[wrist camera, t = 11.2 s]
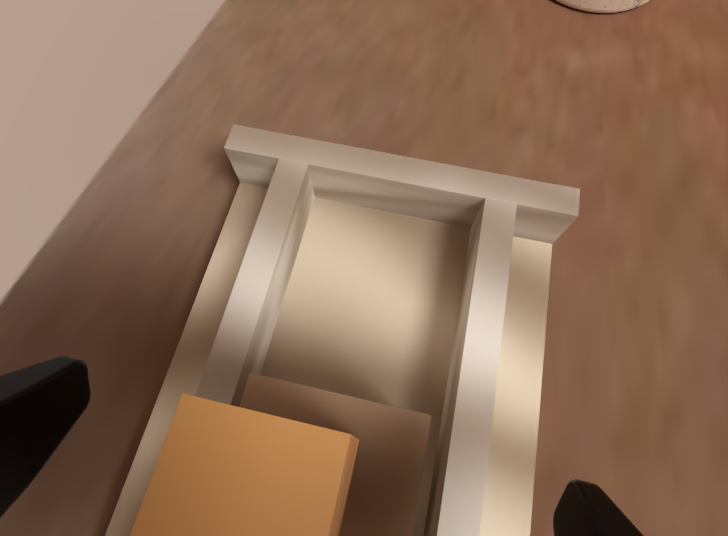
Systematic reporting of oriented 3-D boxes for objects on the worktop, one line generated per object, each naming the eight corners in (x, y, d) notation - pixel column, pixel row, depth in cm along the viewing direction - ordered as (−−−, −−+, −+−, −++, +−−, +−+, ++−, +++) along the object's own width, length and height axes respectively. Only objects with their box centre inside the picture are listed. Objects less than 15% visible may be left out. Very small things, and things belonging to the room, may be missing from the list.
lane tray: (494, 774, 14) (541, 896, 10) (81, 651, 15) (-13, 719, 11) (542, 219, 21) (580, 171, 17) (260, 165, 22) (239, 109, 18)
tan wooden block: (384, 581, 14) (486, 1283, 2) (239, 542, 15) (-308, 973, 3) (412, 423, 16) (551, 366, 4) (281, 391, 17) (62, 258, 5)
